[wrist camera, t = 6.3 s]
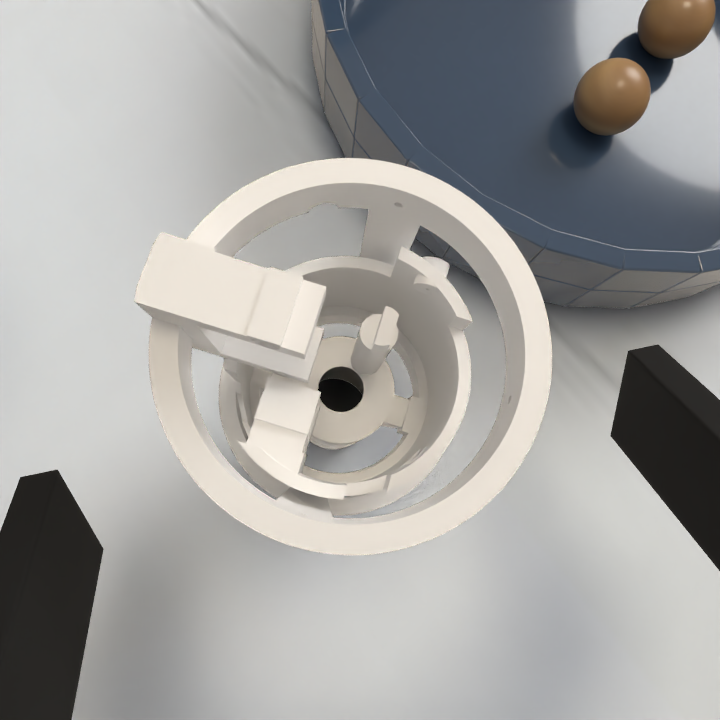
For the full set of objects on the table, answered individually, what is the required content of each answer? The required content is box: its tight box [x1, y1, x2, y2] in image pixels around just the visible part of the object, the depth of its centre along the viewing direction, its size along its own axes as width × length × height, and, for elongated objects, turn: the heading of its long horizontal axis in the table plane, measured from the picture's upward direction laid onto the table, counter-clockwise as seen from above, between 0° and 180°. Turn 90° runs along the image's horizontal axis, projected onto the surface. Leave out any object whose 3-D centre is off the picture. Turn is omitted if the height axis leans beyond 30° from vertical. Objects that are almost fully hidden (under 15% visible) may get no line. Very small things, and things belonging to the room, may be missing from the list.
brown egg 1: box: [573, 58, 651, 136], centre depth 25 cm, size 3×3×3 cm
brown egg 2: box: [638, 0, 716, 59], centre depth 26 cm, size 3×3×3 cm
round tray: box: [311, 0, 720, 309], centre depth 25 cm, size 25×25×6 cm
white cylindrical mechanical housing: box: [134, 158, 552, 555], centre depth 16 cm, size 7×7×15 cm
